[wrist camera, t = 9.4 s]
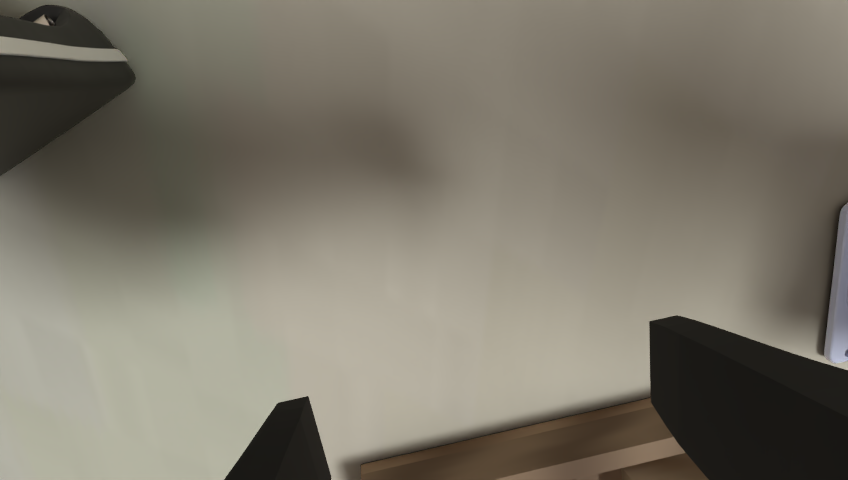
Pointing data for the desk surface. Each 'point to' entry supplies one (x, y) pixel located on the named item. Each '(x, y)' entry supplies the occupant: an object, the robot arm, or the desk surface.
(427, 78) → the desk surface
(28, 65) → the battery charger
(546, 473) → the slot rack
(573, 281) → the desk surface
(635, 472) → the maple block
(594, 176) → the desk surface
